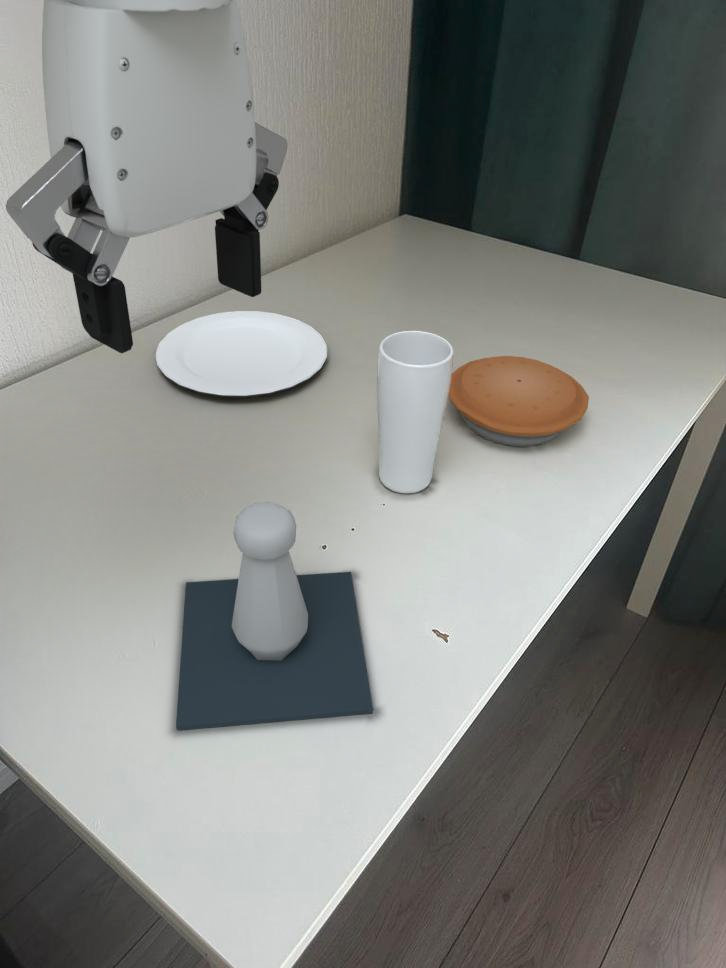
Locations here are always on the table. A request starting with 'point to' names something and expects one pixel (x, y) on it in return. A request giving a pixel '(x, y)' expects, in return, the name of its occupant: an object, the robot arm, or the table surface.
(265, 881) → the table surface
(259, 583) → the salt shaker
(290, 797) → the table surface
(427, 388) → the drinking glass
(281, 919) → the table surface
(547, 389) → the pie
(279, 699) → the mat
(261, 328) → the plate
